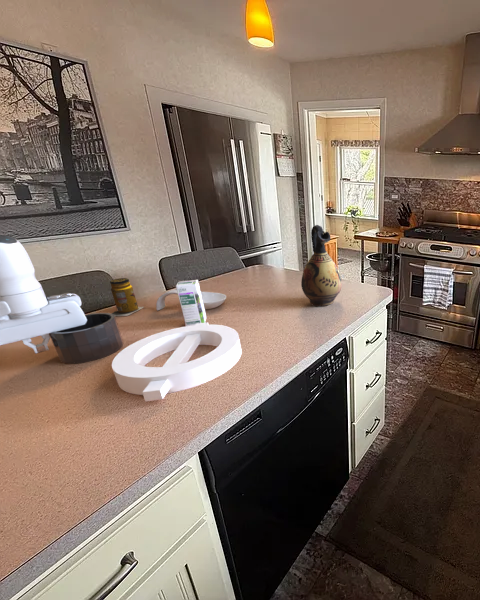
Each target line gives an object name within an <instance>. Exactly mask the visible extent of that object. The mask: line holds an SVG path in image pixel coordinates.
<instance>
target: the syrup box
mask: <svg viewBox="0 0 480 600" xmlns="http://www.w3.org/2000/svg"><path fill="white" fill-rule="evenodd" d="M175 289H177V293H178V295H177V297H178V302H179V305H180V308H181V312H182V316H183V320H184V325H185V326H192V325H196V323H206V321H207V313H206V309H204V304H203V300H202V295H201V292H202V291H201V288H200V282H199V279H192V280H180V281H178V282H177V283H176V285H175Z"/></svg>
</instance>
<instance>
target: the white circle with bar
mask: <svg viewBox="0 0 480 600" xmlns="http://www.w3.org/2000/svg"><path fill="white" fill-rule="evenodd" d="M241 345H242V344H241V340H240V335H239V333H238V331H237V330H236V329H234V328H233V327H230V326H227V325H223V324H210V323H209V322H208V321H207V322H205V323H196V325H192V326H186V325H185V326H181V327H175V328H171V329H167V330H164V331H160V332H156V333H154V334H151V335H148V336H146V337H144V338H141V339H139V340H137V341H135V342H133V343H131V344H129V345H128V346H126V347H125V348H123V349H122V350H120V351H119V353H117V354H116V356H114V358H113V360H112V362H111V368H112V371H113V374H114V377H115V380H116V383H117V385H118V387H119V388H120V389H121V390H122V391H124V392H126V393H128V394H133V395H137V396H143V398H144V399H143V400H144V402H151V401H159V400H160V401H161V400H164V398H165V397H166V395H167V394H171V393H177V392H182V391H185V390H188V389H192V388H195V387H198V386H201V385H204V384H205V383H208V382H210V381H212V380H215V379H216V378H218V377H220V376H221V375H223V374H225V373H226V372H228V371H229V370H230V369H232V368H233V367H234V366H235V365H236V364H237V363H238V362H239V361H240V358H241V356H242V355H243V354H242V352H243V351H242V346H241ZM199 346H213V347H215V349H213V350H212V351H210V352H208V353H206V354H205V355H202V356H200V357H198V358H195V359H192V360H190V359H191V357H192V356H193V354H194V353H195V351H196V350H197V348H198V347H199ZM170 352H173V353H171V355H170V357H168V359H167V360H166V361H165V362H164V364H163V365H162V366H146V365H147V364H148V363H150V362H151V361H153V360H154V359H157V358H158V357H160V356H162V355H165V354H167V353H170Z"/></svg>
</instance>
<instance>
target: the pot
mask: <svg viewBox="0 0 480 600" xmlns="http://www.w3.org/2000/svg"><path fill="white" fill-rule="evenodd" d="M85 316H86V319H87V322H86V323H85V325H81V326H77V327H73V328H69V329H65V330H61V331H57V332H52V333H49V335H50V340H51V343H52V346H53V348H54V350H55V353H56V354H57V355H56V356H57V357H58V359H59V361H60V363H63V364H67V365H74V364H83V363H89V362H93V361H96V360H101V359H102V358H105V357H108V356H111V355H112V354H115V353H117V352H118V351H120V350H121V349H122V348H123V347H124V345H125V344H124V339H123V336H122V333H121V331H120V327H119V324H118V320H117V318H116V316H114V315H113V314H111V312H110V313H109V312H95V313H94V312H93V313H88V314H85Z"/></svg>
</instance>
